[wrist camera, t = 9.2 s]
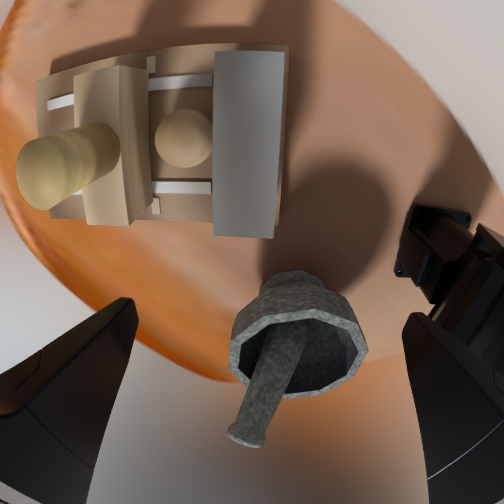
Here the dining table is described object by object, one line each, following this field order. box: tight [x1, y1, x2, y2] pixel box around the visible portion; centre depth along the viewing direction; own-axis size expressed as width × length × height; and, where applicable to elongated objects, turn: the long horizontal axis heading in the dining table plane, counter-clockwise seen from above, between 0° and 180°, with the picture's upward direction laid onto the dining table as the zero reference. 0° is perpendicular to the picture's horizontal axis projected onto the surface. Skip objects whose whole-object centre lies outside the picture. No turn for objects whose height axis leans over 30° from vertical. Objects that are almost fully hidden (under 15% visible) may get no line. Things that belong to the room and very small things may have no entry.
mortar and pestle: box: [226, 270, 369, 448], centre depth 20 cm, size 11×9×12 cm
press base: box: [36, 43, 289, 239], centre depth 15 cm, size 19×12×6 cm, turn 88°
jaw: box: [16, 65, 153, 226], centre depth 13 cm, size 3×9×9 cm, turn 178°
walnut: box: [155, 109, 213, 168], centre depth 15 cm, size 4×4×4 cm
